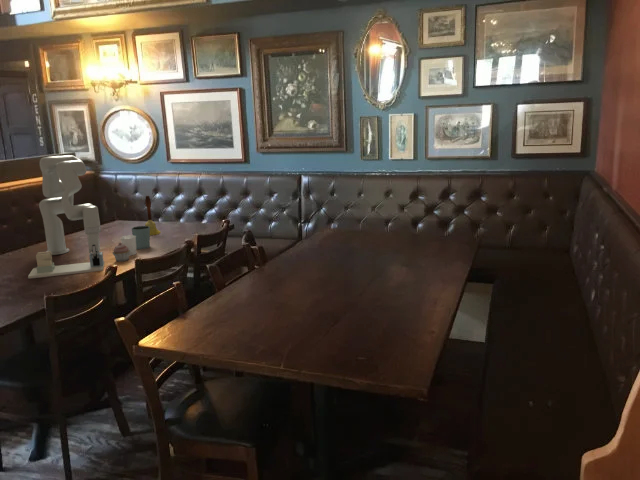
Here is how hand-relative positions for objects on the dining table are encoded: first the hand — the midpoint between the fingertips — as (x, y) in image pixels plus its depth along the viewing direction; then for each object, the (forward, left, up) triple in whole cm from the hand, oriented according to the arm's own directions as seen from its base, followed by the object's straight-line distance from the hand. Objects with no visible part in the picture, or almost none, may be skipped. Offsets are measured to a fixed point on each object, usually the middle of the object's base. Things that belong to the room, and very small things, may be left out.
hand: (97, 263), depth 277 cm
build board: (0, -14, -2) cm, 14 cm away
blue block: (0, 0, -1) cm, 1 cm away
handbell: (-72, +29, -2) cm, 78 cm away
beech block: (0, -24, +2) cm, 24 cm away
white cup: (-21, +16, -2) cm, 26 cm away
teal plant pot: (-35, +23, -2) cm, 42 cm away
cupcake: (-9, +12, -2) cm, 15 cm away
